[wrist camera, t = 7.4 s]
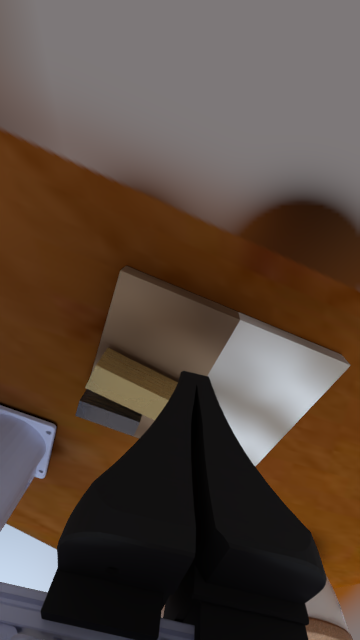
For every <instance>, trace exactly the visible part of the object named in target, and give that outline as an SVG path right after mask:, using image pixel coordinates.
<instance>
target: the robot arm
mask: <svg viewBox="0 0 360 640" xmlns="http://www.w3.org/2000/svg"><path fill="white" fill-rule="evenodd" d="M55 433H56V425H55V424H53V423H50V422H47V421H45V420H42V419H39V418H36V417H33V416H30V415H27V414H24V413H22V412H19V411H16V410H13V409H10V408H7V407H4V406H1V405H0V531H1V530H2V528H3V527H4V525H5V523H6V522H7V520H8V519H9V517H10V515H11V514H12V512H13V511H14V509H15V507H16V506H17V504H18V503H19V501H20V499H21V498H22V496H23V494H24V493H25V491H26V490H27V488H28V486H29V485H30V483H31V482H32V480H33V478H34V477H38V478H41V479H42V478H44V477H45V476H46V473H47V469H48V464H49V460H50V455H51V451H52V446H53V442H54V437H55ZM57 552H58V569H57V571H56V574H55V576H54V579H53V582H52V584H51V586H50V588H49V591H48V593H47V592H43V591H38V590H34V589H29V588H25V587H20V586H15V585H11V584H7V583H2V582H0V640H308V635H307V631H306V627H305V625H308V624H309V617H308V613H307V609H306V605H305V603H306V602H308V601H309V600H310V599H312V598H313V597H314V596H316V595H317V594H318V593H320V592H321V590H322V589H323V588H324V587H325V585H326V580H327V578H326V574H325V571H324V568H323V565H322V562H321V558H320V555H319V552H318V550H317V547H316V545H315V542H314V540H313V537H312V534H311V532H310V531H309V530H308V529H307V528H306V527H305V526H304V525H303V524H302V523H301V521H300V520H299V519H298V518H297V517H296V516H295V515H294V514H293V513H292V512H291V511H290V510H289V508H288V507H287V506H286V505H285V504H284V503H283V502H282V501H281V499H280V498H279V497H278V496H277V494H276V493H275V492H274V491H273V490H272V488H271V487H270V486H269V485H268V483H267V482H266V481H265V479H264V478H263V477H262V475H261V474H260V473H259V471H258V470H257V469H256V467H255V466H254V465H253V463H252V462H251V460H250V459H249V457H248V456H247V454H246V453H245V451H244V450H243V448H242V446H241V445H240V443H239V442H238V440H237V438H236V436H235V435H234V433H233V431H232V429H231V427H230V425H229V423H228V421H227V419H226V417H225V415H224V413H223V411H222V409H221V407H220V404H219V402H218V400H217V397H216V395H215V392H214V389H213V387H212V384H211V381H210V378H209V377H208V376H204V375H200V374H196V373H192V372H187V371H182V372H181V373H180V377H179V380H178V384H177V386H176V388H175V390H174V392H173V394H172V395H171V397H170V399H169V401H168V402H167V404H166V405H165V407H164V408H163V410H162V411H161V413H160V414H159V415H158V417H157V418H156V420H155V421H154V422H153V423H152V425H151V426H150V427H149V428H148V430H147V431H146V432H145V433H144V434H143V435H142V436H141V438H140V439H139V440H138V441H137V442H136V443H135V444H134V445H133V446H132V447H131V448H130V449H129V450H128V451H127V452H126V453H125V454H124V455H123V456H122V457H121V458H120V459H119V460H118V461H117V462H116V463H115V464H113V465H112V466H111V467H110V468H109V469H108V470H106V471H105V472H104V473H103V474H102V475H101V476H99V477H98V478H97V479H96V480H95V481H94V482H93V483H92V484H91V486H90V487H89V488H88V490H87V491H86V492H85V494H84V495H83V497H82V498H81V500H80V501H79V502H78V504H77V505H76V507H75V509H74V510H73V512H72V514H71V515H70V517H69V519H68V521H67V523H66V526H65V528H64V530H63V533H62V535H61V537H60V540H59V543H58V546H57ZM164 605H165V610H164V617H163V618H161V610H162V609H163V607H164Z"/></svg>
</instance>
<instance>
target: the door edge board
mask: <svg viewBox="0 0 360 640" xmlns="http://www.w3.org/2000/svg"><path fill="white" fill-rule="evenodd" d="M107 348H110V349H112V350H114V351H116V352H118V353H120V354H122V355H124V356H126V357H128V358H130V359H132V360H134V361H136V362H138V363H140V364H142V365H144V366H146V367H148V368H150V369H152V370H154V371H156V372H158V373H160V374H162V375H164V376H166V377H168V378H170V379H172V380H174V381H176V382H178V380H179V377H180V373H181V372H182V371H187V372H192V373H196V374H200V375H204V376H208V377H209V378H210V381H211V384H212V387H213V389H214V392H215V395H216V397H217V400H218V402H219V404H220V407H221V409H222V411H223V413H224V415H225V417H226V419H227V421H228V423H229V425H230V427H231V429H232V431H233V433H234V435H235V436H236V438H237V440H238V442H239V443H240V445H241V446H242V448H243V450H244V451H245V453H246V454H247V456H248V457H249V459H250V460H251V462H252V463H253V465H254V466H256V465H257V464H258V463H259V462H260V461H261V460H262V459H263V458H264V457H265V456H266V454H267V453H268V452H269V451H270V450H271V449H272V448H273V447H274V446H275V445H276V444H277V443H278V442H279V441H280V440H281V439H282V438H283V436H284V435H285V434H286V433H287V432H288V431H289V430H290V429H291V428H292V427H293V426H294V425H295V424H296V423H297V422H298V421H299V419H300V418H301V417H302V416H303V415H304V414H305V413H306V412H307V411H308V410H309V409H310V408H311V407H312V406H313V405H314V404H315V402H316V401H317V400H318V399H319V398H320V397H321V396H322V395H323V394H324V393H325V392H326V391H327V390H328V389H329V388H330V387H331V385H332V384H333V383H334V382H335V381H336V380H337V379H338V378H339V377H340V376H341V375H342V374H343V373H344V372H345V371H346V370H347V368H348V367H349V366H350V364H349V363H348V362H347V361H346V359H345V358H344V357H343V356H342V355H341V354H339V353H336V352H334V351H331V350H329V349H327V348H324V347H322V346H319V345H317V344H314V343H312V342H310V341H307V340H305V339H302V338H300V337H298V336H295V335H293V334H290V333H288V332H285V331H283V330H281V329H278V328H276V327H273V326H271V325H269V324H266V323H264V322H261V321H259V320H257V319H254V318H252V317H249V316H247V315H244V314H242V313H240V312H237V311H235V310H232V309H230V308H228V307H225V306H223V305H220V304H218V303H215V302H213V301H211V300H208V299H206V298H203V297H201V296H199V295H196V294H194V293H191V292H189V291H186V290H184V289H182V288H179V287H177V286H174V285H172V284H170V283H167V282H165V281H162V280H160V279H157V278H155V277H153V276H150V275H148V274H145V273H143V272H141V271H138V270H136V269H133V268H131V267H129V266H125V267H124V268H123V269H122V270H120V273H119V277H118V281H117V284H116V288H115V291H114V295H113V298H112V302H111V305H110V309H109V312H108V316H107V320H106V323H105V327H104V330H103V334H102V337H101V341H100V344H99V348H98V351H97V355H96V359H95V362H94V366H93V369H92V372H93V370H94V368H95V366H96V364H97V363H98V361H99V360H100V358H101V357H102V355H103V354H104V352H105V351H106V349H107ZM91 374H92V373H91ZM80 418H81V417H80ZM83 419H84V418H83ZM86 420H87V419H86ZM89 421H90V420H89ZM154 421H155V420H153V419H151V418H149V417H146V416H144V415H142V417H141V421H140V423H139V426H138V428H137V430H136V432H135V434H134V437H137V438H139V439H140V438H141V436H142V435H143V434H144V433H145V432H146V431H147V430H148V428H149V427H150V426H151V425H152V423H153V422H154ZM91 422H92V421H91ZM94 423H95V422H94ZM97 424H98V423H97ZM100 425H101V424H100ZM103 426H104V425H103ZM105 427H107V426H105ZM108 428H109V427H108ZM111 429H112V428H111ZM114 430H115V429H114ZM117 431H118V430H117ZM120 432H121V431H120ZM122 433H123V432H122ZM125 434H126V433H125ZM128 435H129V434H128ZM131 436H132V435H131Z"/></svg>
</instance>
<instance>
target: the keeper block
mask: <svg viewBox="0 0 360 640" xmlns="http://www.w3.org/2000/svg"><path fill="white" fill-rule="evenodd" d="M76 416H78V417H81V418H84V419H87V420H90V421H92V422H95V423H98V424H101V425H104V426H107V427H109V428H112V429H115V430H118V431H121V432H123V433H126V434H129V435H132V436H134V434H135V432H136V430H137V428H138V426H139V423H140V421H141V417H142V414H140V413H138V412H136V411H134V410H131V409H129V408H127V407H125V406H123V405H121V404H119V403H116V402H114V401H112V400H110V399H108V398H106V397H104V396H101V395H99V394H97V393H95V392H93V391H91V390H89V389H87V390H86V391H85V393H84V395H83V396H82V398H81V399H80V401H79V405H78V408H77V412H76Z"/></svg>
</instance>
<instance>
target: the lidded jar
mask: <svg viewBox="0 0 360 640" xmlns="http://www.w3.org/2000/svg"><path fill="white" fill-rule="evenodd" d="M326 578H327V576H326ZM305 605H306V609H307V613H308V617H309V624H308V625H305V627H306V631H307V635H308V640H353V639H352V636H351V635H350V633H349V630H348V628H347V624H346V621H345V618H344V615H343V612H342V610H341V607H340V604H339V602H338V600H337V597H336V595H335V592H334V590H333V588H332V586H331V584H330V582H329V580H328V578H327V580H326V585H325V587H324V588H323V589H322V590H321V592H320V593H318V594H317V595H316V596H314V597H313V598H312V599H310V600H309V601H308V602H306V603H305Z"/></svg>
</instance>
